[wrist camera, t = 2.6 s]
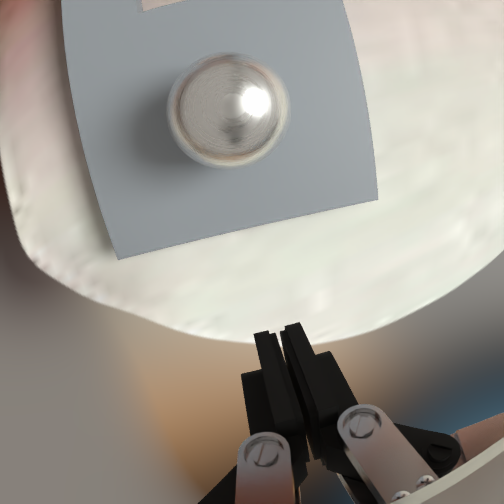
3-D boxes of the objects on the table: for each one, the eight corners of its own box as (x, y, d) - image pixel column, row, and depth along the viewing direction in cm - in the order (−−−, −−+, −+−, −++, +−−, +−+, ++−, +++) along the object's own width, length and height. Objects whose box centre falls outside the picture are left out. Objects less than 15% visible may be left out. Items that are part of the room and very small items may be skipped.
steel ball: (165, 78, 13) (143, 55, 8) (266, 58, 13) (290, 28, 8) (187, 173, 15) (175, 194, 10) (285, 152, 15) (318, 162, 10)
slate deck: (72, -50, 9) (62, -61, 7) (291, -93, 9) (298, -107, 8) (126, 246, 18) (118, 259, 16) (362, 192, 18) (378, 199, 16)
